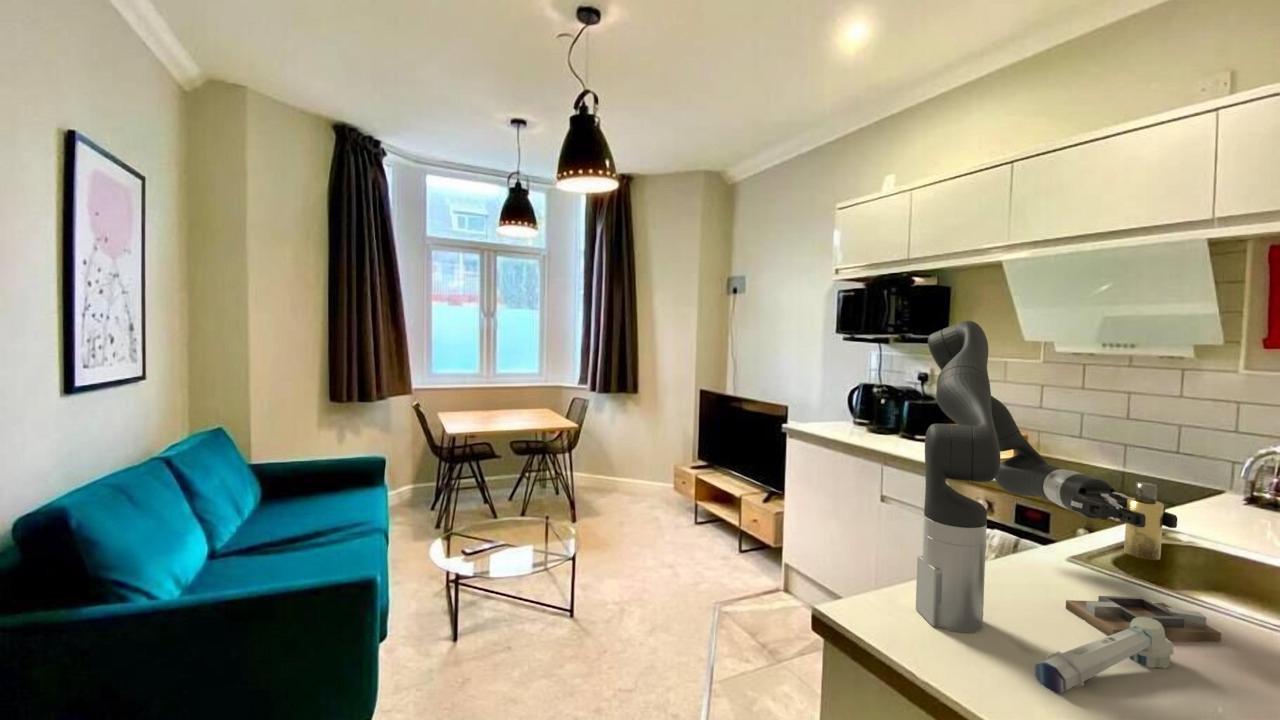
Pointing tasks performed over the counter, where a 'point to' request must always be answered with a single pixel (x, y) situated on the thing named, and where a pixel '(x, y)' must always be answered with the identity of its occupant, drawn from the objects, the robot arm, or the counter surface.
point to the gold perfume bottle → (1149, 537)
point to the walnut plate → (1118, 624)
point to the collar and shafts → (1166, 617)
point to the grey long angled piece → (1106, 655)
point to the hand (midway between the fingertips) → (1158, 521)
